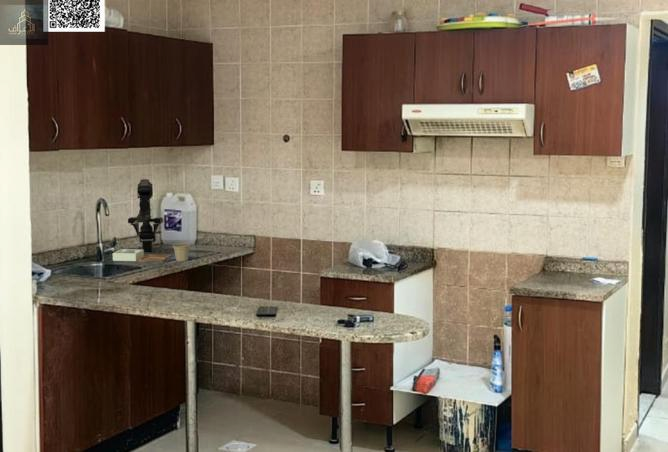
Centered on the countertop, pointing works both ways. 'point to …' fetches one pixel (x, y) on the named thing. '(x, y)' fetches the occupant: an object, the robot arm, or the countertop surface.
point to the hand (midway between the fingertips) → (146, 235)
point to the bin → (127, 255)
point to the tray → (154, 257)
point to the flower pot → (181, 251)
